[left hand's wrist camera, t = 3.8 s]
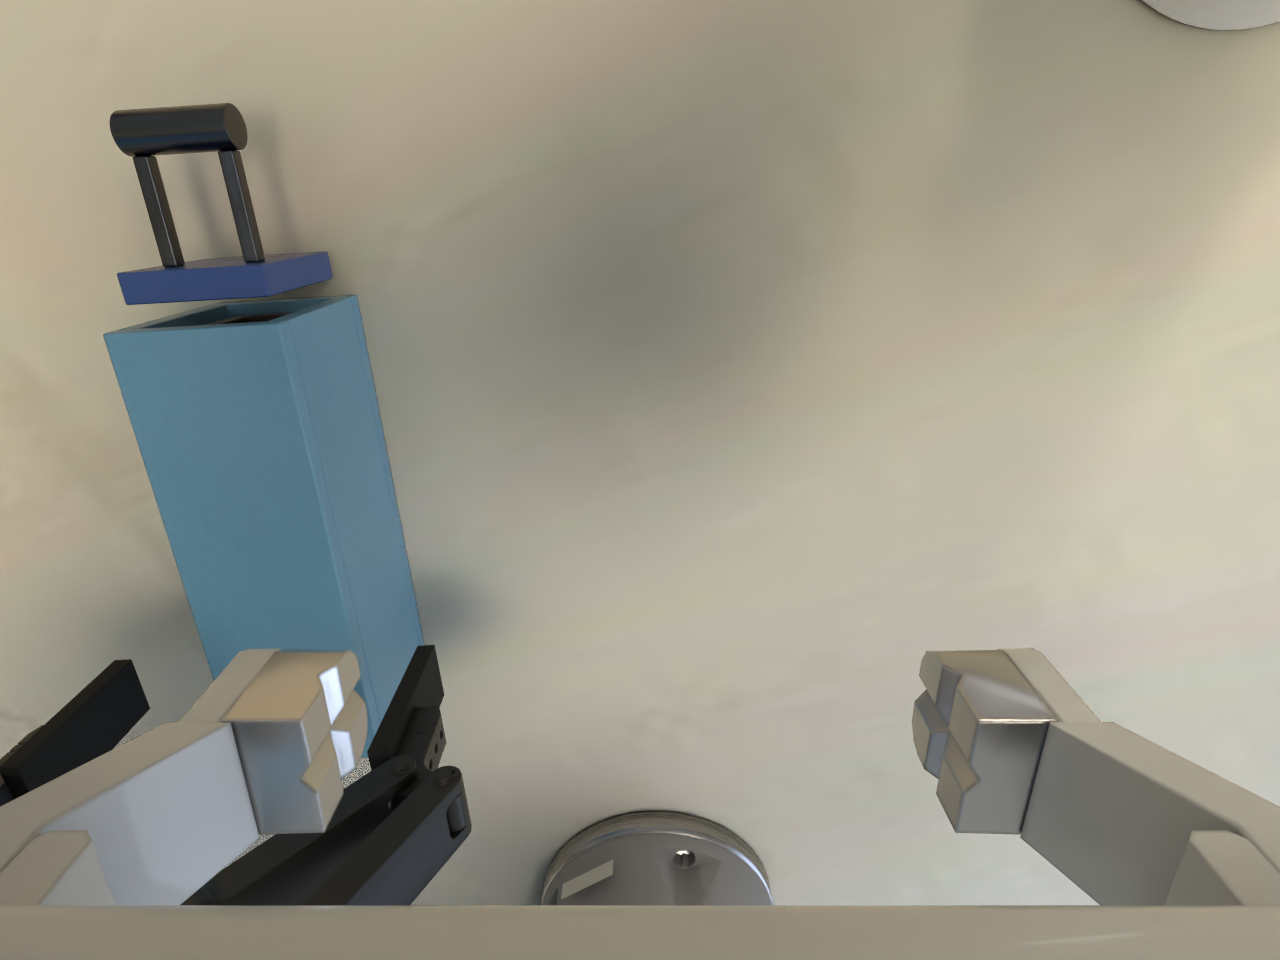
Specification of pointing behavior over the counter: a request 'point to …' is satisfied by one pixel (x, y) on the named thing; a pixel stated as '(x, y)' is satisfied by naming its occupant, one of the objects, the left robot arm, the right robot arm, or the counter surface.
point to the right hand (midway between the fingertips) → (281, 676)
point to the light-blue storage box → (275, 483)
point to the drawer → (254, 271)
